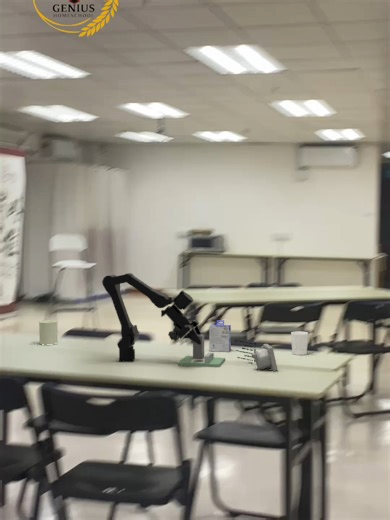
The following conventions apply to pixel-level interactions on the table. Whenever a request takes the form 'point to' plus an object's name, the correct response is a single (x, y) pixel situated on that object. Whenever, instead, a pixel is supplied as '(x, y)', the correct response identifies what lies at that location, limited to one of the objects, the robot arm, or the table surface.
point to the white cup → (299, 342)
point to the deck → (202, 361)
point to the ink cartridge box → (220, 337)
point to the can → (48, 332)
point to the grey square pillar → (198, 348)
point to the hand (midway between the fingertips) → (201, 343)
